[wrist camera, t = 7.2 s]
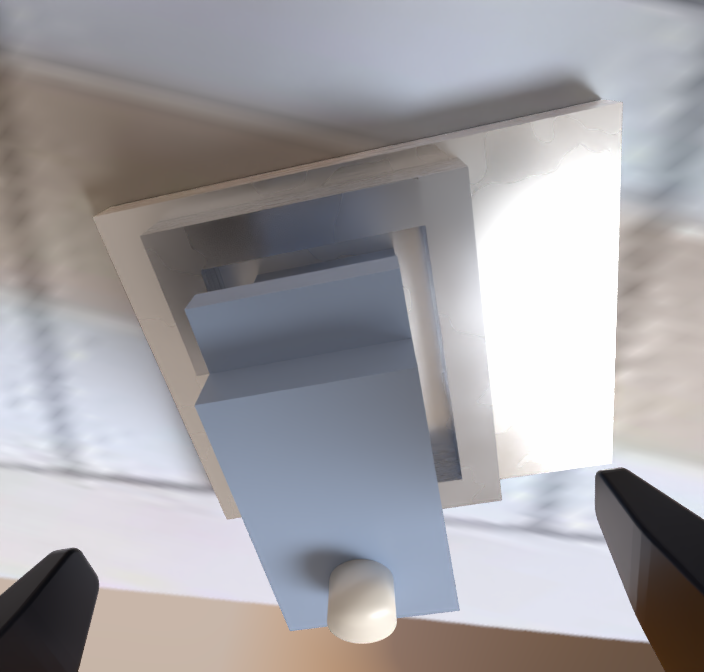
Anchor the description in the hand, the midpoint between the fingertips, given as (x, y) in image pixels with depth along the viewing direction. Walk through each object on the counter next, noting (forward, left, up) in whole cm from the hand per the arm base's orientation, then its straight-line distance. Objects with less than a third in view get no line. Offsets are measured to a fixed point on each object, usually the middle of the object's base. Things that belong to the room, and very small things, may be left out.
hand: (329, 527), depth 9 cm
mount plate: (-1, 0, -7) cm, 7 cm away
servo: (0, 0, -6) cm, 6 cm away
